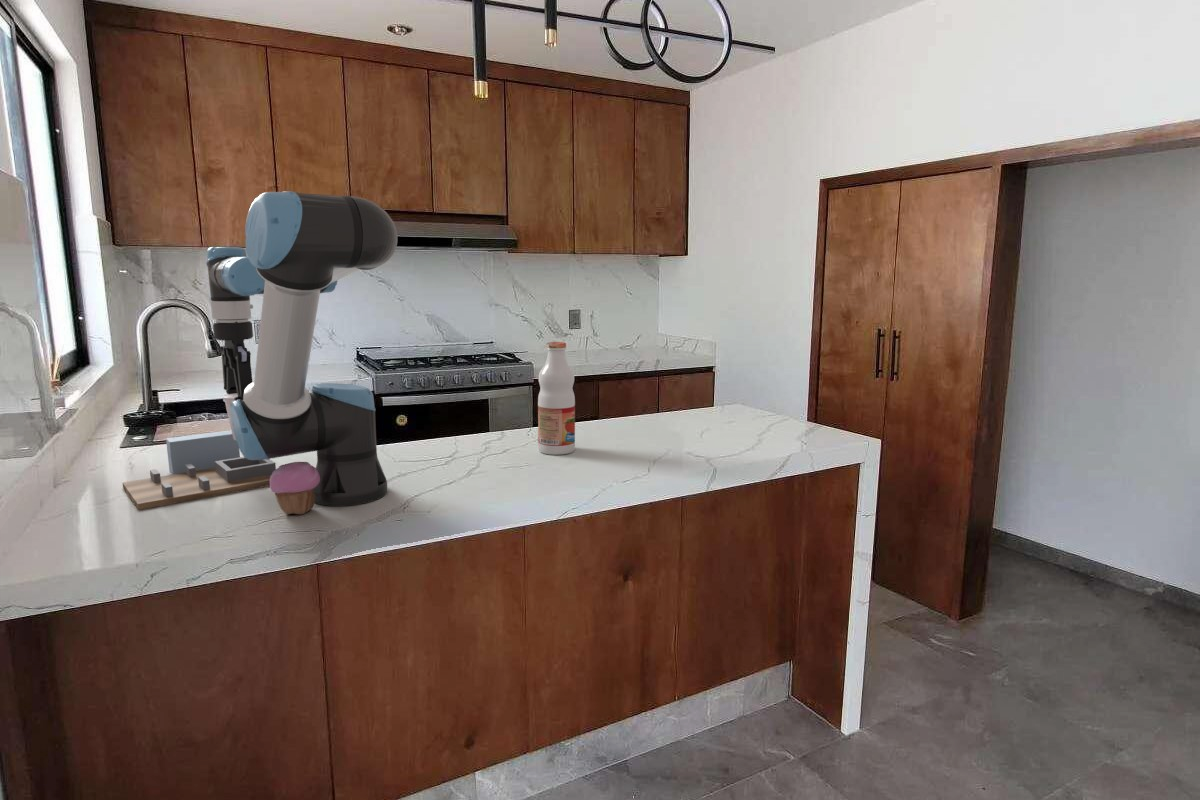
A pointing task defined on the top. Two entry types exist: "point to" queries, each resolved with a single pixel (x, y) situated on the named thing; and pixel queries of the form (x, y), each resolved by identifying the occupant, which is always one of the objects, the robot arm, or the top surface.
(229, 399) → the smoothie
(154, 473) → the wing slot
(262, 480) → the jig board
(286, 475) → the cupcake
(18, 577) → the top surface
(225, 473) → the frame
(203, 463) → the light blue rectangular block
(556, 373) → the fruit juice
